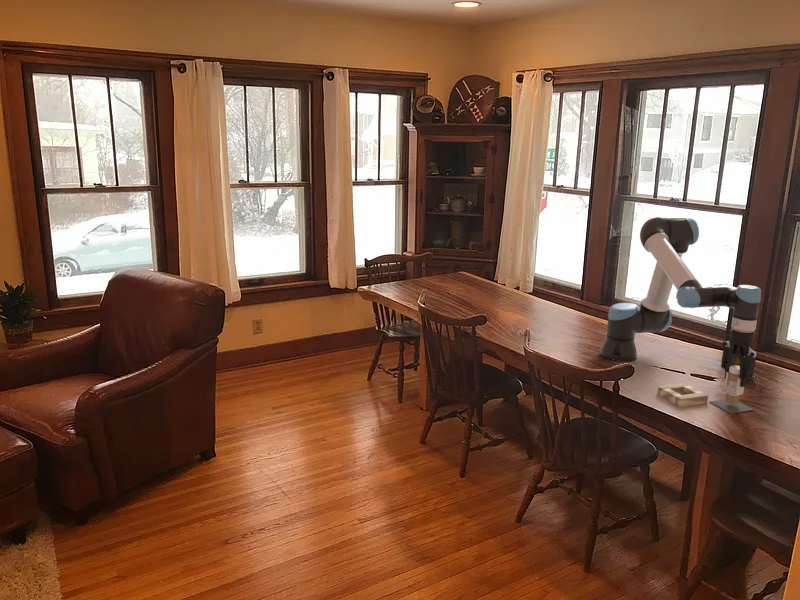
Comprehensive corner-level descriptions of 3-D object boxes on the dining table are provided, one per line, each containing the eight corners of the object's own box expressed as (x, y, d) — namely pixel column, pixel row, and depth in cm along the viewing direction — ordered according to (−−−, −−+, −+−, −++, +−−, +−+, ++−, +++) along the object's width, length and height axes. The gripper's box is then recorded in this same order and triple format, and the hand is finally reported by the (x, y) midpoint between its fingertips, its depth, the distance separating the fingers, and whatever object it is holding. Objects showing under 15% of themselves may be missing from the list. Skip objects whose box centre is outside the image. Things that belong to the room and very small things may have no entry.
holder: (657, 393, 234) (658, 386, 233) (683, 390, 237) (684, 383, 237) (680, 406, 223) (681, 399, 222) (707, 402, 226) (708, 395, 226)
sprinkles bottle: (727, 398, 226) (732, 364, 223) (740, 402, 223) (746, 367, 219) (722, 402, 223) (727, 367, 220) (736, 406, 220) (741, 370, 216)
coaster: (709, 402, 227) (709, 401, 227) (731, 399, 230) (731, 398, 229) (730, 413, 217) (731, 412, 217) (753, 410, 220) (753, 409, 220)
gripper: (715, 323, 223) (706, 383, 229) (755, 337, 207) (744, 402, 213) (731, 321, 225) (722, 381, 231) (772, 336, 209) (761, 399, 215)
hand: (733, 391), depth 222 cm, fingers closed on sprinkles bottle, 4 cm apart
